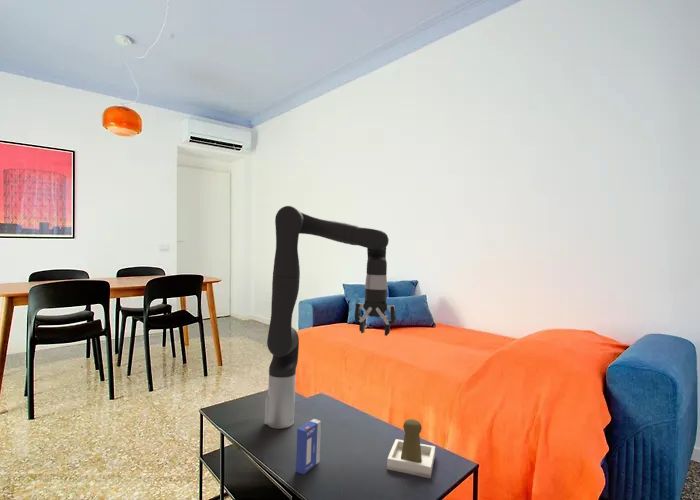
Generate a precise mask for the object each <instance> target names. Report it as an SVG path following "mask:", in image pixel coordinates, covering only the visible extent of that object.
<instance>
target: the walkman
mask: <svg viewBox="0 0 700 500" xmlns="http://www.w3.org/2000/svg"><path fill="white" fill-rule="evenodd" d="M321 426H322V421H321V420H319V419H316V418H313V419H311V420H309V421H308V422H306V423H304V424H303V425H302V426H299V427H298V428H297V432H296V451H295V452H296V453H295V455H296V458H295V460H296V461H295V472H296V473H298V474H301V475H306V474H307V472H309V471H311V469H313V468H314V467H316V465H318V464H319V463H320V459H321V458H320V456H321V455H320V453H321V434H322V433H321V431H322V430H321V428H322V427H321Z"/></svg>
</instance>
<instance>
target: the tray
mask: <svg viewBox="0 0 700 500" xmlns="http://www.w3.org/2000/svg"><path fill="white" fill-rule="evenodd" d="M403 442H404V439H397V438H395V440H394V442H393V444H392V447H391V449H390V452H389V454H388V457H387V459H386V460H387V461H386V469H387V470H390V471H393V472H399V473H403V474H407V475H412V476H417V477H422V478H427V479H431V478H432V474H433V468H434V465H435V463H434V462H435V460H436V459H435V458H436V446H435V445H430V444H423V443H420V446H421V457H422V462H421V463H417V462H412V461H407V460H402V459H401V454H402V448H403Z"/></svg>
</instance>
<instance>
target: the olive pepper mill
mask: <svg viewBox="0 0 700 500" xmlns="http://www.w3.org/2000/svg"><path fill="white" fill-rule="evenodd" d="M403 431H404V437H403V440H404V442H403V448H402V454H401V459H402V460H407V461H412V462H417V463H421V462H422V457H421V446H420V444H421V437H420V434H421V432H422V424H421V421H419V420H416V419H413V418H411V419H410V418H409V419H406V420H405V421H404V422H403Z"/></svg>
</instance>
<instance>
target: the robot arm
mask: <svg viewBox="0 0 700 500" xmlns="http://www.w3.org/2000/svg"><path fill="white" fill-rule="evenodd" d="M274 222H275V223H274V224H275V241H276V242H275V253H274V260H273V270H272V281H271V282H272V283H271V284H272V285H271V311H270V312H271V313H270V321H269V328H268V332H267V340H266V345H267V349H268V351H269V353H270V354H272V358H271V362H270V364H269V367H268V388H267V390H268V391H267V392H268V393H267V395H265V398H264V399H265V404H264V425H267V426H268V427H269V428H272V429H280V430H281V429H286V428H287V429H288V428H290V427H292V426H293V424H294V423H295V404H296V403H295V400H296V376H297V375H296V373H297V372H296V371H297V366H298V362H299V361H298V359H299V349H300V348H299V347H300V345H299V344H300V337H299V334H298V332H297V330H296V329H295V328H294V327H292V321H293V314H294V313H293V312H294V310H295V305H296V303H297V301H298V300H297V299H298V295H299V290H300V279H301V278H300V277H301V273H300V271H301V270H300V268H301V267H300V259H299V258H300V257H299V251H298V244H299V235H300V234H302V235H311V236H315V237H321V238H324V239H328V240H331V241H334V242H337V243H338V242H339V243H342V244H347V245H351V246H359V247H362V248H365V249H366V251H367V253H366V254H367V260H366V261H367V262H366V277H365V285H364V286H365V288H364V289H365V291H364V302H363V303H361V302H356V303H355V309H354V320H355V321H357V322H359V327H358V328H359V332H360V334H364V333H365V328H366V327H365V326H366V323H365V320H366V319H367V318H368V317H371V318H372V317H373V318H374V317H375V318H380V319H382V321H383V322H384V323H385V325H384V336H385V337H386V336H388V335H389V334H390V333H391V332H390V331H391V325H392V324H395V323H396V319H397V318H396V315H397V314H396V305H393V304H392V305H388V303H387V294H388V293H387V292H388V280H387V279H388V278H387V271H388V269H387V266H388V265H387V264H388V261H387V257H386V256H387V247H388V246H389V245H388V244H389V237H388V234H387V233H386V232H385V231H383V230H381V229H375V228H371V227H363V226H359V225H355V224H351V223H347V222H342V221H338V220H337V221H336V220H330V219H329V220H328V219H323V218H318V217H314V216H311V215H309V214H306V213H304V212H303V211H302V212H301V211H300V210H299V209H298V208H296V207H295V206H291V205H285V206H283V207H281V208H280V209H279V210H278V211H277V212H276V214H275V221H274ZM362 309H364V311H365V312H364V313H363V315H361V310H362ZM387 310H388V312H389V313H390V319H389V316H388V315H387V313H386V311H387Z"/></svg>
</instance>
